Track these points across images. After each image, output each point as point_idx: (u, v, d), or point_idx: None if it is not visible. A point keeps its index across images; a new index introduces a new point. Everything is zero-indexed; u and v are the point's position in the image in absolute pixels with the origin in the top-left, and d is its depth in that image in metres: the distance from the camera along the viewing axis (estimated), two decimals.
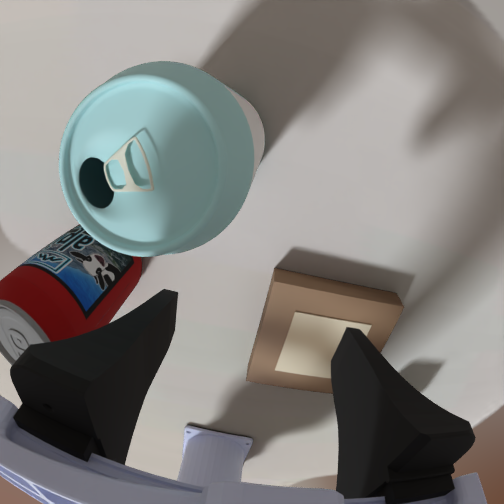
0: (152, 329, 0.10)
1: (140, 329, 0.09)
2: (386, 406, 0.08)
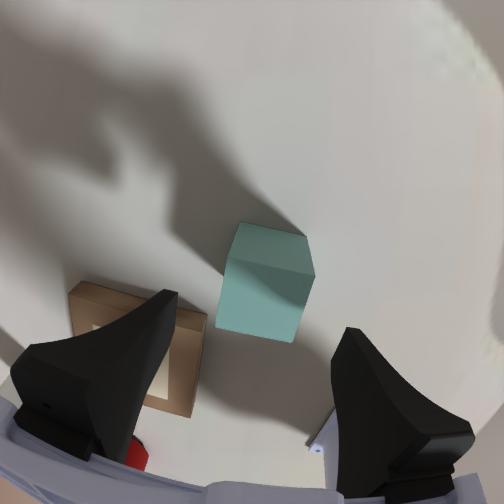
0: (152, 329, 0.10)
1: (140, 329, 0.09)
2: (386, 406, 0.08)
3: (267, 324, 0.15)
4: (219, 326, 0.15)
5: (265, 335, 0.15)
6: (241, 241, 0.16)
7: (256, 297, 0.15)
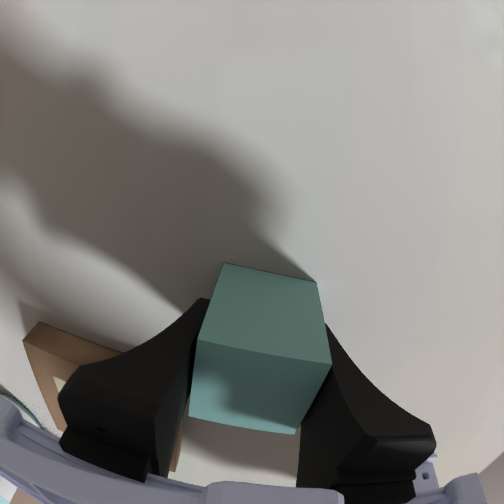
0: (196, 340, 0.10)
1: (188, 342, 0.09)
2: (339, 403, 0.08)
3: (260, 417, 0.10)
4: (194, 415, 0.10)
5: (257, 427, 0.10)
6: (222, 303, 0.10)
7: (243, 388, 0.09)
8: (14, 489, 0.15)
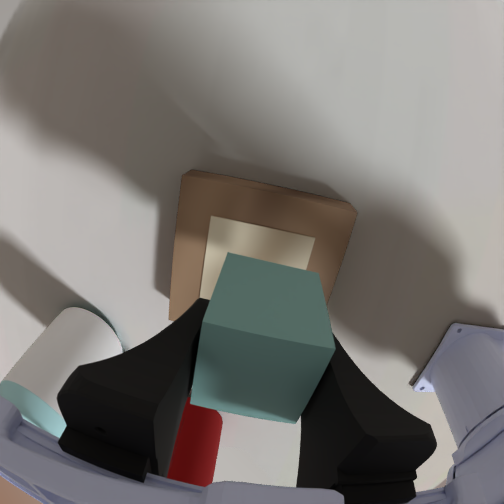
0: (196, 340, 0.10)
1: (187, 342, 0.09)
2: (339, 404, 0.08)
3: (262, 405, 0.10)
4: (196, 403, 0.10)
5: (259, 416, 0.10)
6: (226, 289, 0.11)
7: (246, 374, 0.09)
8: None
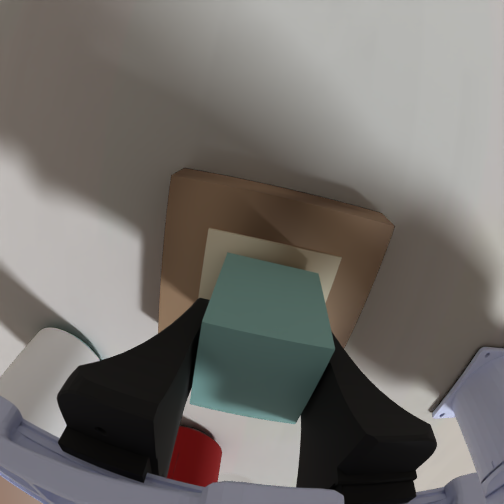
0: (196, 340, 0.10)
1: (187, 342, 0.09)
2: (339, 403, 0.08)
3: (262, 405, 0.10)
4: (195, 403, 0.10)
5: (259, 416, 0.10)
6: (226, 289, 0.11)
7: (246, 374, 0.09)
8: None
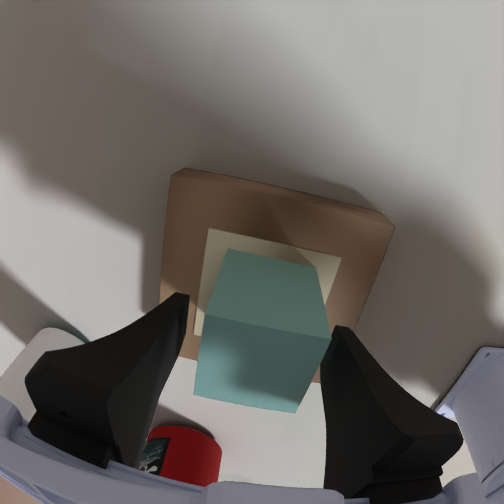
0: (166, 333, 0.10)
1: (155, 333, 0.09)
2: (371, 405, 0.08)
3: (262, 394, 0.11)
4: (199, 394, 0.11)
5: (260, 405, 0.11)
6: (227, 283, 0.11)
7: (247, 364, 0.10)
8: None
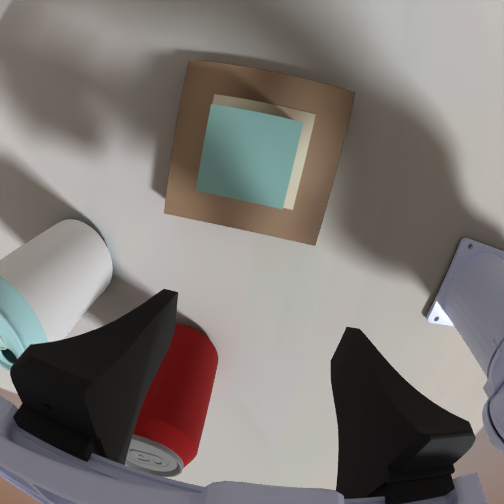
0: (152, 329, 0.10)
1: (140, 329, 0.09)
2: (386, 406, 0.08)
3: (253, 183, 0.14)
4: (200, 189, 0.14)
5: (251, 199, 0.14)
6: None
7: (241, 148, 0.13)
8: (62, 333, 0.17)
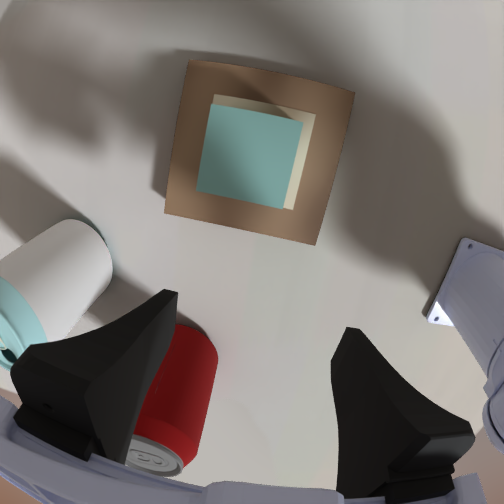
0: (152, 329, 0.10)
1: (140, 329, 0.09)
2: (386, 406, 0.08)
3: (253, 183, 0.14)
4: (200, 189, 0.14)
5: (251, 199, 0.14)
6: None
7: (241, 148, 0.13)
8: (62, 333, 0.17)
